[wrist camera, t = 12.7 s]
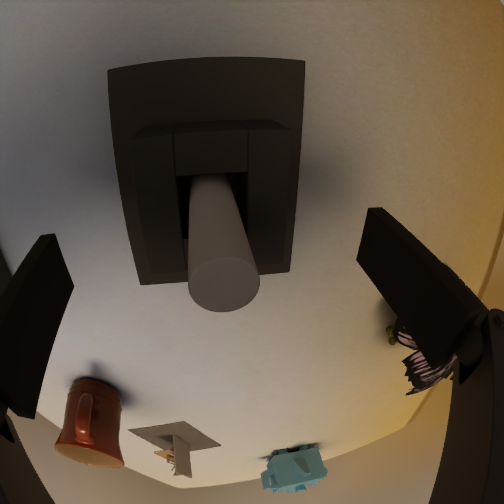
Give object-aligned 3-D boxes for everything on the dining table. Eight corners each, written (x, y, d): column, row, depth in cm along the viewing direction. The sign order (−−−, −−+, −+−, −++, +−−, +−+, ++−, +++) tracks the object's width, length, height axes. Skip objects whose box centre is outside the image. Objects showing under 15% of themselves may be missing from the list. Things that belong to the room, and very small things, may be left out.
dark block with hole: (142, 127, 16) (127, 139, 12) (273, 119, 17) (292, 129, 13) (157, 240, 20) (150, 274, 17) (268, 231, 21) (283, 263, 18)
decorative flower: (490, 349, 27) (423, 429, 24) (433, 322, 38) (366, 384, 35) (497, 259, 23) (423, 350, 20) (424, 241, 34) (343, 305, 30)
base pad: (113, 70, 14) (7, 68, 4) (297, 61, 16) (419, 55, 6) (142, 274, 23) (124, 405, 13) (284, 261, 25) (337, 380, 15)
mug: (126, 409, 35) (124, 471, 26) (70, 396, 32) (61, 458, 24) (129, 366, 29) (123, 447, 21) (59, 349, 26) (40, 427, 18)
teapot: (330, 434, 55) (344, 475, 45) (307, 457, 64) (318, 490, 55) (262, 446, 51) (273, 492, 42) (251, 466, 61) (259, 502, 51)
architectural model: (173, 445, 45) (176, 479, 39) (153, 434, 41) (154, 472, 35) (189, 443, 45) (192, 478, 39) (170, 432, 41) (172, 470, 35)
